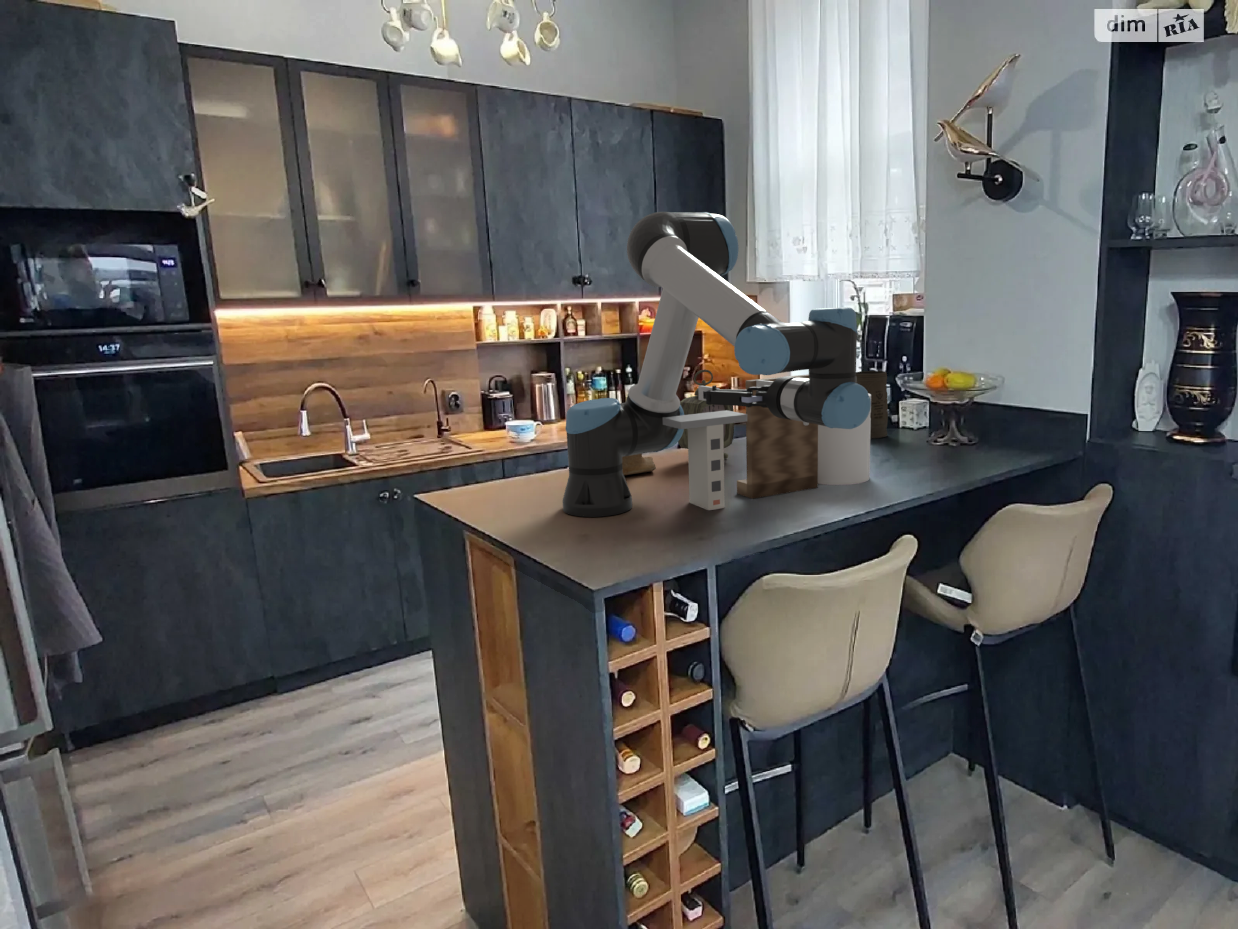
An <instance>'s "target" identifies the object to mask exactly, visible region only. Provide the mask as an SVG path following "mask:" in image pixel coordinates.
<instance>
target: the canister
mask: <svg viewBox="0 0 1238 929" xmlns="http://www.w3.org/2000/svg"><path fill="white" fill-rule="evenodd" d="M868 395H869V397H870V399H871V394H869V393H868ZM870 413H871V408H870V412H869V415H868V417H867V418H866V420H865V421H864V422H863V423H862V424H861V425H860V426H858V427H856V428H853V429H841V428H829V427H826V426H822V425H818V485H824V486H849V485H858V484H864V483H865V482H867V481H870V478H871V477H870V474H871V469H870V468H871V439H870V431H871V418H870Z"/></svg>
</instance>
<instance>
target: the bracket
mask: <svg viewBox="0 0 1238 929" xmlns="http://www.w3.org/2000/svg"><path fill="white" fill-rule="evenodd" d="M780 377H781V376H779V377H770V378H769V377H767V378H759V379H748V380H745V390H747V389H748V388H749V387H756V380H765V381H775V380H776V379H778V378H780ZM787 377H796V378H809V373H808V374H801V375H800V374H799V375H791V376H787ZM756 391H757V390H753V396H756V395H755V394H756ZM754 403H756V402H754ZM745 414H747V421H746V422H745V428H746V429H745V434H746V435H745V436H746V438H745V439H746V441H745V442H746V444H745V445H746V446H745V447H746V448H745V449H746V451H745V455H746V457H745V458H746V459H745V460H746V478H745V479H739V480H736V494H737V495H740V496H743V497H746V498H747V499H748V498H749V499H753V500H754V499H758V498H759V499H760V498H764V497H771V496H776V495H777V496H778V495H783V494H789V493H795V492H800V491H806V490H812V489H818V488H819V487H818V485H819V484H818V425H817V424H812V423H809V425H806V426H805V425H804V424H803V422H802V421H796V420H788V419H783V418H778V417H776V416H774V415H773V414H772V413H771V412H770V410H769V409H768V408H763V407H761V406H752V407H745Z"/></svg>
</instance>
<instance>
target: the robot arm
mask: <svg viewBox="0 0 1238 929" xmlns="http://www.w3.org/2000/svg"><path fill="white" fill-rule="evenodd" d="M738 240H739V239H738V236H737V234H736V229H735V227H734V225H733V224H732V223H731V221H730V220H729V219H728V218H727V217H725V216H724V215H721V214H717V213H710V212H708V211H702V212H681V211H680V212H677V211H676V212H672V211H671V212H670V211H657V212H653V213H650V214H647V215H646V216H644V217H642V218H641V219H640V220H638V222H636V223H635V224H634V226H633V228H632V229H631V231H630V233H629V235H628V238H627V243H626V255H627V259H628V261H629V264H630V266H631V267H632V269H633V271H634V272H635V273H636V274H637V276H639V278H641V279H642V280H643V281H644V282H645V283H647V284H648V285H649V286H652V287H654V288H655V287H656V288H662V291H661V293H660V294H661V295H660V298H659V303H658V306H657V309H656V314H655V317H654V320H653V325H652V329H651V332H650V335H649V336H650V337H649V341H648V344H647V348H646V350H645V356H644V359H643V363H642V366H641V370H640V374H639V379H638V382H637V383H636V384H634V385H632V386H631V387H630V388H629V390H628V393H627V397H626V400H625V402H621V403H620V401H619V399H617V398H615V397H604V398H602V397H601V398H598V399H589V400H585V401H581V402H578V403H575V404H573V405H572V406H571V407H569V408H568V409H567V411H566V415H565V432H566V443H567V444H566V445H567V463H568V478H567V482H566V486H565V490H564V494H563V496H562V497H563V498H562V511H563V512H564V513H565V514H568V515H570V516H576V517H581V518H582V517H584V518H590V517H591V518H593V517H594V518H596V517H597V518H598V517H609V516H615V515H619V514H623V513H627V512H628V511H630V510H631V509H632V508H633V498H632V493H631V491H630V488H629V486H628V483H627V481H626V477H625V475H624V474H623V468H622V457H624V456H630V455H637V454H642V455H643V454H648V453H658V452H661V451H664V450H667V449H670V448H673V447H674V446H675V445H677V444H678V441H679V440H680V438H681V436H682V434H683V431H684V429H678V428H674V427H670V426H666V425H663V417H672V416H681V415H684V411H683V409H682V407H681V405H680V401H681V400H680V398H679V397H678V395H677V391H678V388H679V384H680V382H681V379H682V375H683V372H684V369H685V365H686V362H687V357H688V355H689V353H690V352H689V351H690V347H691V345H692V341H693V336H694V334H695V331H696V327H697V324H698V322H699V319H700V320H701V321H703V322H704V323H705V324H706V325H707V326H709V327H710V328H711V330H713V331H715V332H716V333H717V334H718V335H720V337H722V338H723V339H724V340H726V341H727V342H728V343H730V345H732V346H733V347H734V348H733V349H734V357H735V360H736V361H737V362H738V367H739V368H740V369H741V370H742V371H743V372H745V373H746V374H749V375H753V376H761V375H763V376H771V375H777V374H782V373H791V372H796V371H806V370H808V374H809V378H796V377H787V376H785V375H784V376H779V377H780V378H778V379H776V380H775V381H765V380H757V379H755V380H756V387H749V388H748V389H747V390H746V389H736V388H735V389H734V388H733V389H727V388H726V389H720V388H719V387H717V385H712V386H708V385H706V386H699V385H697V386H698V387H697V388H698V393H699V400H704V401H706V404H708V405H711V404H712V405H732V406H733V407H736V406H737V407H738V406H739V407H745V408H746V407H752V406H761V407H763V408H768V409H769V410H770V412H771V413H772V414H773V415H774V416H776V417H778V418H783V419H788V420H796V421H802V422H803V424H804V425H805V426H806V425H809V423H812V424H817V425H822V426H826V427H829V428H841V429H853V428H856V427H858V426H860V425H861V424H862V423H863V422H864V421H865V420H866V418H867V417H868V415H869V412H870V408H871V399H870V397H869V395H868V392H867V390H866V389H865V388H864V387H863V386H861V385H859V384H857V383H856V382H857V377H856V372H857V347H858V346H857V343H858V342H857V341H858V333H859V332H858V328H857V327H858V326H857V324H858V323H857V313H856V311H855V309H854V308H852V307H848V306H846V307H843V306H842V307H823V308H822V307H821V308H820V307H819V308H813V309H811V310H810V311H809V312H808V313H809V314H808V320H807V321H806V320H805V321H801V322H800V321H798V322H797V321H795V322H783V321H781V320H780V319H778V318H777V317H775V316H774V315H773V314H771V313H770V312H768V311H767V310H766V309H764V308H763V307H762V306H760V305H759V304H758V303H756V302H755V301H754V300H753V299H752V298H750V297H748V296H747V295H746V294H744V293H743V292H742V291H741V290H739V289H738V288H736V287H735V286H734V285H732V284H731V283H730V282H728V281H727V280H726V279H724V278H723V277H722V276H725V275H727V274H728V273H729V272H731V271H733V269H734V267H735V266H736V263H737V261H738V259H739V258H738V257H739V248H740V247H739V241H738ZM753 390H757V391H756V394H755V395H756V396H753ZM754 402H756V403H754Z"/></svg>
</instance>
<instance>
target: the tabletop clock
mask: <svg viewBox="0 0 1238 929" xmlns="http://www.w3.org/2000/svg"><path fill="white" fill-rule="evenodd" d="M702 373H708V374H709V375H710V376H711V378H710V380H709V381H706V380H705V379H702V380H701V382H698V381H697V380H696V379H697V377H698V375H699V374H702ZM713 380H714V376H713V372H712V371H711V370H709V369H701V370H698V371H697V372H696V373H695V374H694V377H693V381H694V383H695V384H696V385H697V386H708V385H709V384H711V383H712V382H713ZM680 405H681V407H682V409H683V411H684V415H690V414H699V413H708V412H716V411H725V410H728V411H733V412H735V410H734V406H732V405H712V404H711V405H708V404H706V401H704V400H699V393H698V387H697V389H696V390H695V392H694V396H693V395H692V396H690V397H689V396H688V397H686V398H683V399H682V400H680ZM734 435H735V423H729V424H723V440H724V449H727V448H728V447H729V446H730V445H733V441H734ZM677 444H679V446H680V448H682V449H685V450H688V429H684V431H683V434H682V436H681V438H680V440H679V441H678V442H677ZM728 458H729V454H728V453H727V452H724V460H726V459H728Z"/></svg>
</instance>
